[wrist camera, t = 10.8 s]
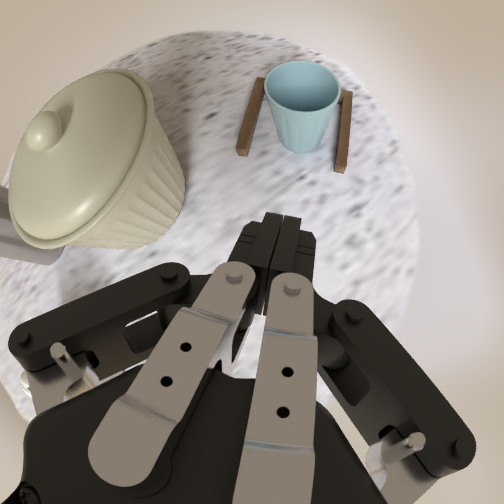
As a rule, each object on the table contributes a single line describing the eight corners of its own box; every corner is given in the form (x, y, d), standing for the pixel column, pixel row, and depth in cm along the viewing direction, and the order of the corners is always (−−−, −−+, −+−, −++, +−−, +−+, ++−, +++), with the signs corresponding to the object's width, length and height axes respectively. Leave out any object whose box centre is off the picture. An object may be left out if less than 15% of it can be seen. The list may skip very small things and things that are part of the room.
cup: (270, 113, 36) (263, 60, 26) (326, 112, 35) (334, 60, 25) (271, 161, 35) (264, 113, 24) (332, 160, 34) (346, 113, 24)
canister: (187, 122, 37) (122, 12, 16) (227, 237, 34) (144, 155, 13) (85, 176, 38) (-11, 114, 18) (105, 287, 35) (-26, 272, 14)
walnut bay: (238, 155, 35) (235, 147, 33) (258, 85, 37) (256, 77, 35) (343, 173, 33) (346, 166, 31) (350, 100, 35) (352, 91, 33)
